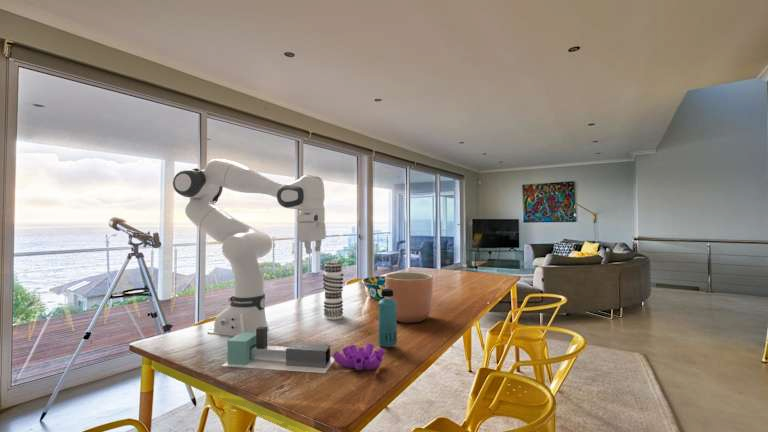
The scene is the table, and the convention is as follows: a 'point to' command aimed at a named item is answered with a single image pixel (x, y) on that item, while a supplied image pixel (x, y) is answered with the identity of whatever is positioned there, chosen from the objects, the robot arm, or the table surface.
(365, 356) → the purple coral
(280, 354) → the sliding bolt
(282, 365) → the mounting board
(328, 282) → the decorative candle
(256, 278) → the robot arm
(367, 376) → the table surface
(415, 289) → the planter
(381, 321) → the beverage bottle
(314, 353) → the outer sleeve
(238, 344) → the socket block
